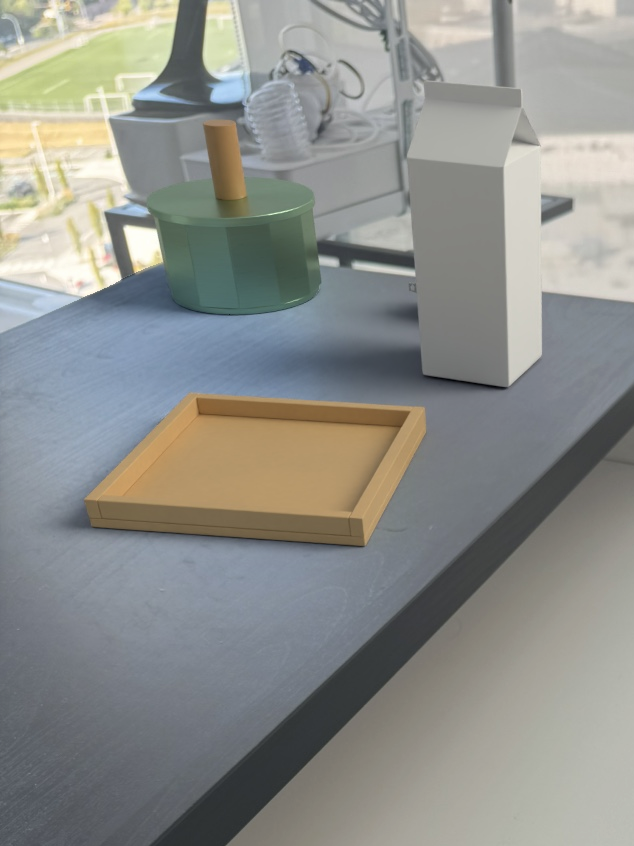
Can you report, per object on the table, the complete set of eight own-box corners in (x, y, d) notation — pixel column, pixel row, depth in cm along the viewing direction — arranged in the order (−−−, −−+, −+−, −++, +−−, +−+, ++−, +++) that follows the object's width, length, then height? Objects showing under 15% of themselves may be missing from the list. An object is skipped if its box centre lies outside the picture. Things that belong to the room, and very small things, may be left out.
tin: (148, 310, 99) (128, 221, 94) (202, 266, 109) (187, 183, 104) (295, 318, 98) (282, 229, 94) (336, 273, 108) (327, 190, 103)
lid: (122, 230, 94) (101, 136, 90) (185, 189, 105) (169, 103, 101) (288, 239, 93) (275, 144, 89) (335, 196, 104) (325, 110, 100)
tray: (91, 527, 69) (83, 499, 68) (194, 417, 82) (189, 392, 81) (365, 546, 68) (362, 518, 67) (426, 432, 81) (424, 406, 79)
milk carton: (509, 390, 87) (501, 97, 75) (422, 377, 88) (401, 88, 76) (542, 358, 92) (540, 80, 80) (459, 346, 94) (445, 72, 81)
